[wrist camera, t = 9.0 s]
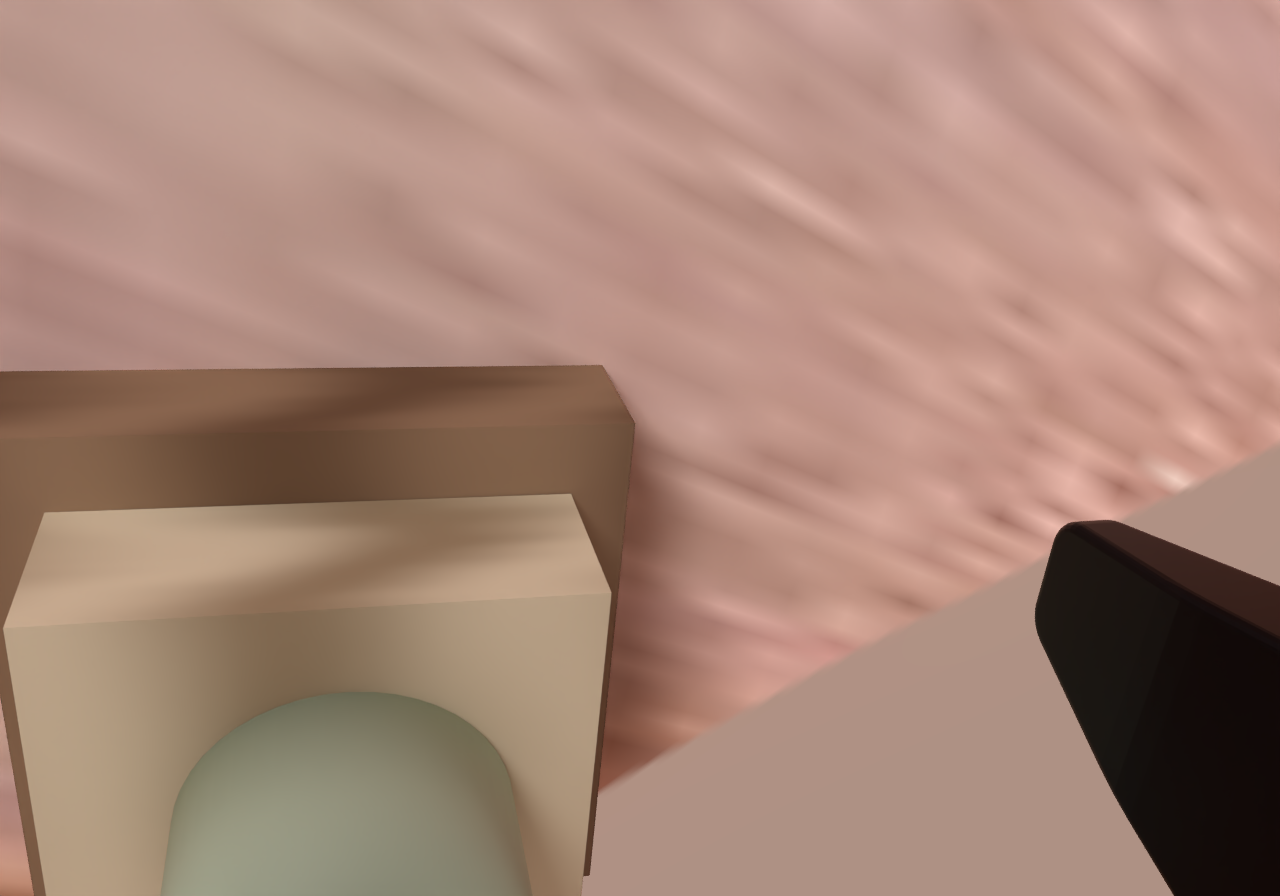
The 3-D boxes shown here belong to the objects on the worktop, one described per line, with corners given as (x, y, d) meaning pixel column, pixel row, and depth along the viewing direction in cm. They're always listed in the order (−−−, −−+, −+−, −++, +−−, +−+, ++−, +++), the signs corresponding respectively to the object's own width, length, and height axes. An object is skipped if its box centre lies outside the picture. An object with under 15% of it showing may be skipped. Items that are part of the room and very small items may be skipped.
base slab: (595, 353, 23) (635, 423, 20) (560, 773, 27) (589, 875, 24) (0, 358, 20) (-44, 439, 17) (68, 823, 24) (42, 943, 22)
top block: (570, 493, 20) (611, 592, 18) (541, 854, 24) (572, 981, 21) (44, 512, 18) (3, 628, 16) (98, 905, 22) (71, 1052, 19)
